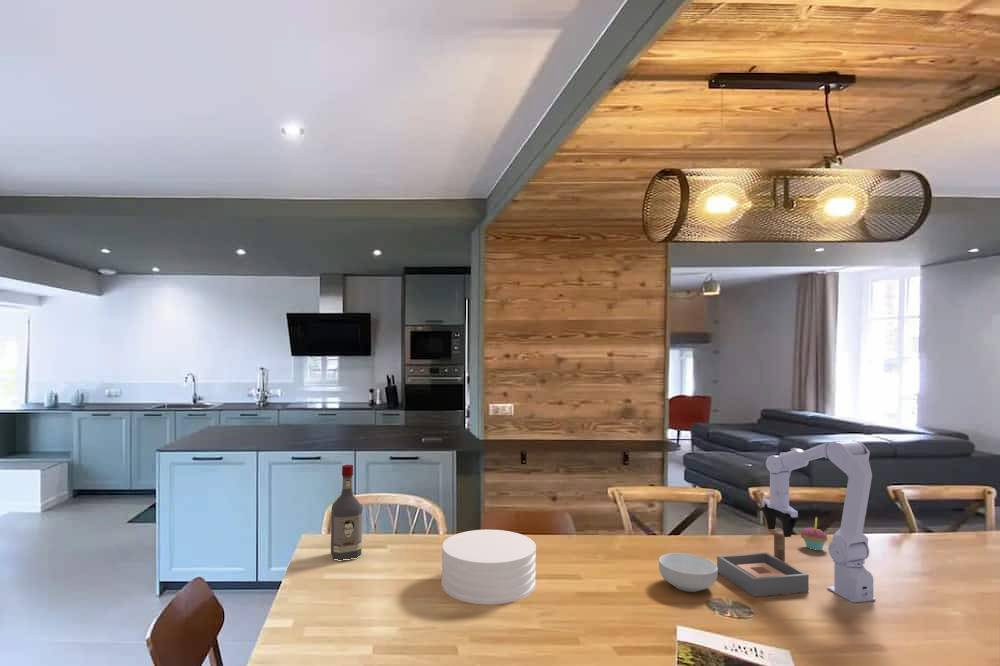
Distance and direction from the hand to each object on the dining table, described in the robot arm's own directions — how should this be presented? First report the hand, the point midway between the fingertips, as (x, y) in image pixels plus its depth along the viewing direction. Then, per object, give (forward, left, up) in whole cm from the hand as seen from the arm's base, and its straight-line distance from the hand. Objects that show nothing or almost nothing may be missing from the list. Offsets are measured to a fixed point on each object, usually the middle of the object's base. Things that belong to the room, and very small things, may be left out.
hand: (779, 532), depth 185 cm
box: (-12, +16, -10) cm, 22 cm away
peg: (0, 0, -10) cm, 10 cm away
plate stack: (+2, +98, -10) cm, 98 cm away
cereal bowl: (-11, +40, -10) cm, 43 cm away
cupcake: (+10, -22, -10) cm, 26 cm away
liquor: (+31, +141, -10) cm, 145 cm away
